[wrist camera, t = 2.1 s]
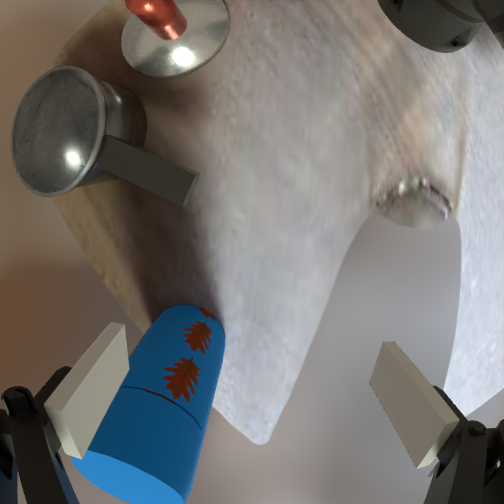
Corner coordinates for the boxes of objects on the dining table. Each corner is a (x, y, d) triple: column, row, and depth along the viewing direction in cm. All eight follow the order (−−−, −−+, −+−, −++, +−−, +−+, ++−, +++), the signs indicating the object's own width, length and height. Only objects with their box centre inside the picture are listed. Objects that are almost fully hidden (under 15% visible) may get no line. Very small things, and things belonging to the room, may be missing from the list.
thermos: (241, 331, 40) (209, 497, 16) (204, 375, 43) (161, 517, 19) (173, 288, 39) (76, 430, 15) (143, 339, 42) (63, 467, 18)
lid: (158, -16, 26) (129, -53, 16) (249, 4, 27) (241, -41, 17) (109, 65, 30) (63, 44, 20) (197, 93, 31) (168, 69, 21)
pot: (87, 74, 30) (36, 58, 20) (238, 129, 32) (222, 115, 22) (54, 164, 34) (0, 172, 24) (189, 232, 36) (157, 262, 26)
